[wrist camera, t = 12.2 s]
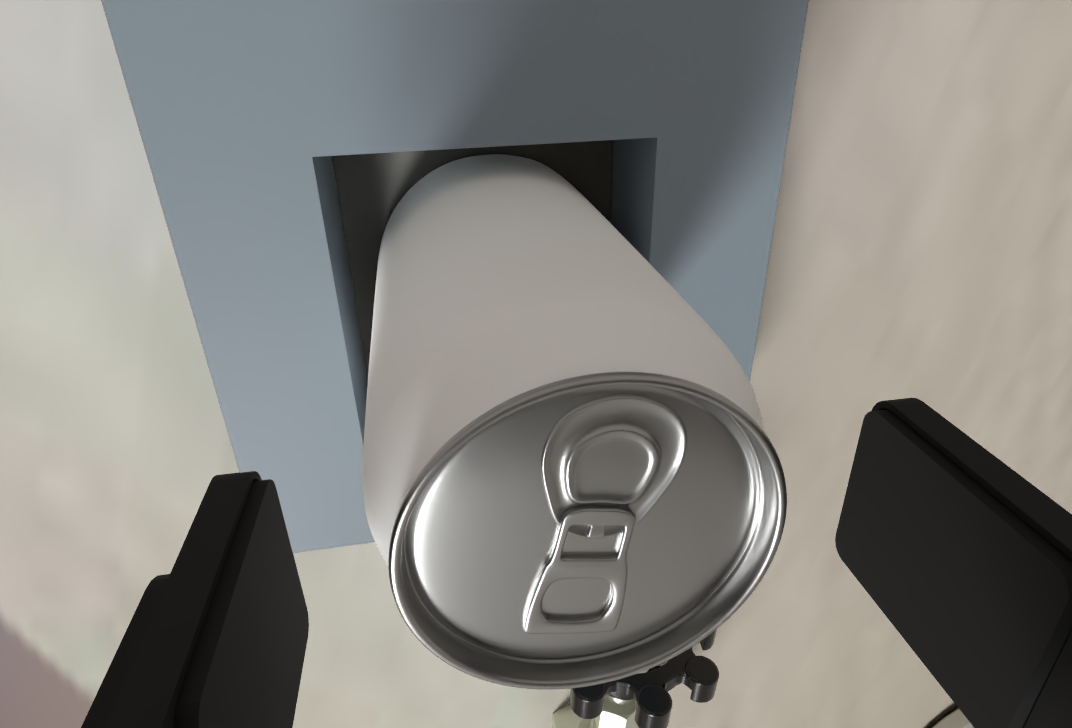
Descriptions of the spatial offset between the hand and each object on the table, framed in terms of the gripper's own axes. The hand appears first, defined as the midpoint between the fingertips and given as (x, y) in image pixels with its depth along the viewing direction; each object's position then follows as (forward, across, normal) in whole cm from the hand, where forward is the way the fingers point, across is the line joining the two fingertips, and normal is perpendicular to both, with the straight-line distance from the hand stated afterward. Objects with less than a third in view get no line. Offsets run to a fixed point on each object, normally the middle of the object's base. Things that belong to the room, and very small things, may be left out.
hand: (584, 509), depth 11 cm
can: (+11, 0, 0) cm, 11 cm away
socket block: (+11, +1, -1) cm, 11 cm away
